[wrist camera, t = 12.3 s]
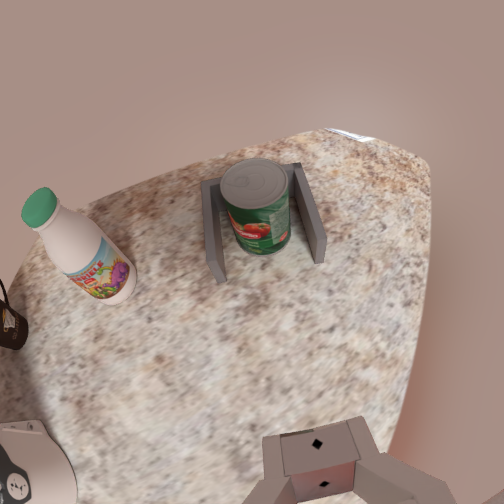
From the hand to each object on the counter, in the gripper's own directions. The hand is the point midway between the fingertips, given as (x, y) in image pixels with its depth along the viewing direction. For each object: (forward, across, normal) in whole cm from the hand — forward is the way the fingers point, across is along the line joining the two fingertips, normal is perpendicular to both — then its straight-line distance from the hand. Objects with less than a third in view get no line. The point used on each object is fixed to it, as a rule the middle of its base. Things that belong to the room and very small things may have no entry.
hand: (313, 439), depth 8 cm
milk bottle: (+35, +23, +4) cm, 42 cm away
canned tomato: (+37, 0, +1) cm, 37 cm away
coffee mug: (+32, +45, +7) cm, 55 cm away
